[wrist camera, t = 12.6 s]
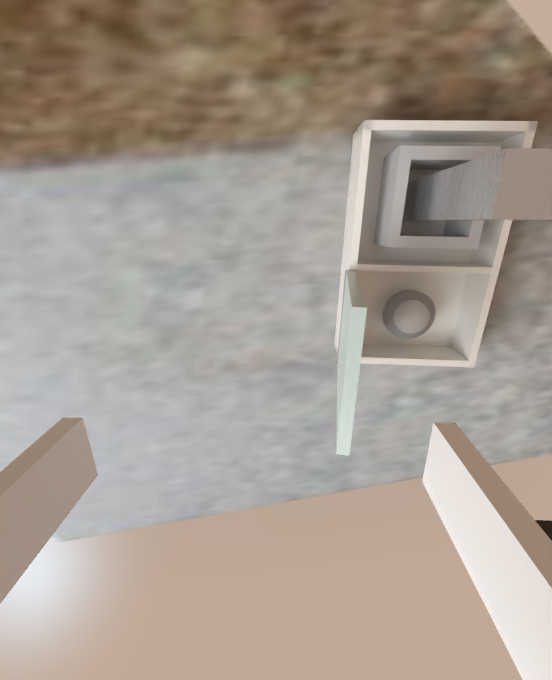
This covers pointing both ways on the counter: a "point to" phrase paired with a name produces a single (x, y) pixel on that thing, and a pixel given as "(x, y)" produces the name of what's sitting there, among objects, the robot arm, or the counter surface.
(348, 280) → the lid
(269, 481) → the counter surface
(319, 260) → the counter surface
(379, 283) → the housing
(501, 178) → the rectangular gray bar
